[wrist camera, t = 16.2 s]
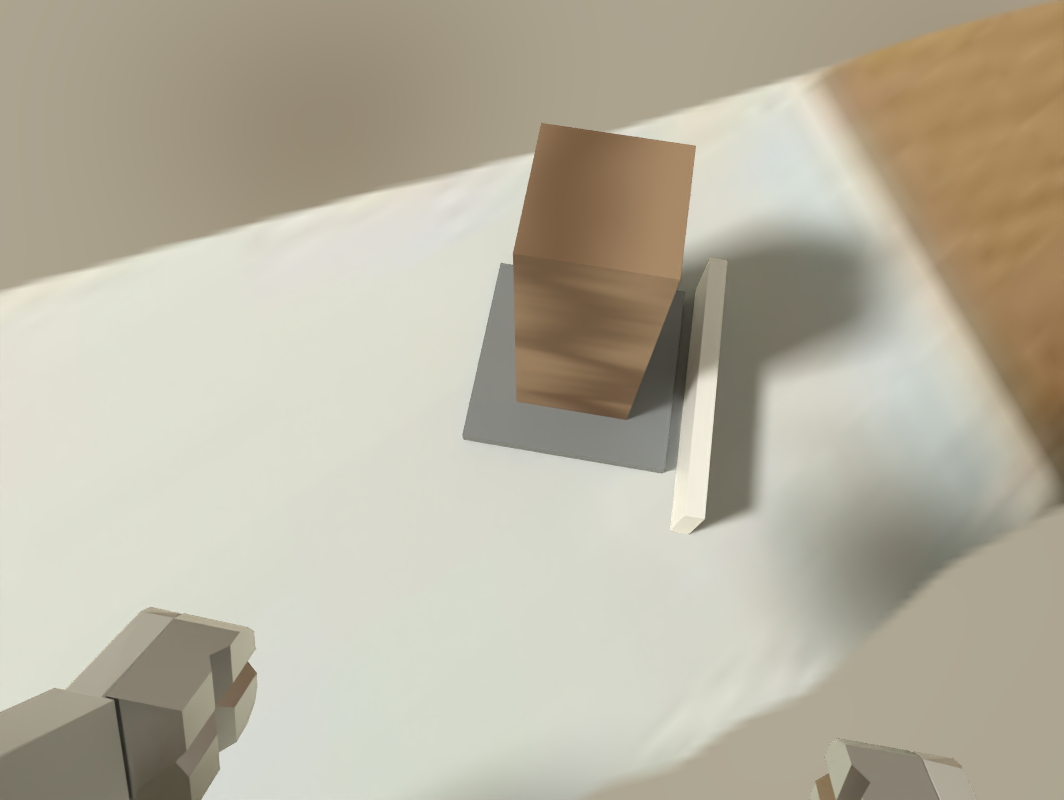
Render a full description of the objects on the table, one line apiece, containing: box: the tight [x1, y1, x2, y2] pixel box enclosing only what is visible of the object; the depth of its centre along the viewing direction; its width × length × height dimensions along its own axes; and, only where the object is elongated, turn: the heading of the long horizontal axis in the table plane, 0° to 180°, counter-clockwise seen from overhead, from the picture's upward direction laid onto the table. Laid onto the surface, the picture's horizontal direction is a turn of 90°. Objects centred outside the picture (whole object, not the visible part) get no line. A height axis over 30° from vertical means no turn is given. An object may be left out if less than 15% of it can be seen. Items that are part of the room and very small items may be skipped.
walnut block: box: [513, 123, 696, 420], centre depth 28 cm, size 5×5×12 cm
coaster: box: [463, 263, 685, 473], centre depth 34 cm, size 9×9×1 cm
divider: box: [670, 258, 728, 534], centre depth 32 cm, size 1×12×3 cm, turn 170°
